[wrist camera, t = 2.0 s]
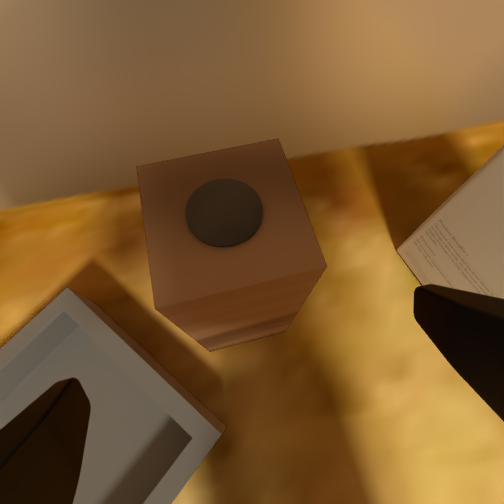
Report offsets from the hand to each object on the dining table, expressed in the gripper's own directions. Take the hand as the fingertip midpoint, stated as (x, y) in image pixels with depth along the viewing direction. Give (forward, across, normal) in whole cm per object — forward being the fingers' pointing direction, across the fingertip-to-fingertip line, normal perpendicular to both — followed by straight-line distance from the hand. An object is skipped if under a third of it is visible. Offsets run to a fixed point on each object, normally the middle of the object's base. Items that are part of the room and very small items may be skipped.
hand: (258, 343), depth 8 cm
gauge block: (+11, 0, +6) cm, 13 cm away
